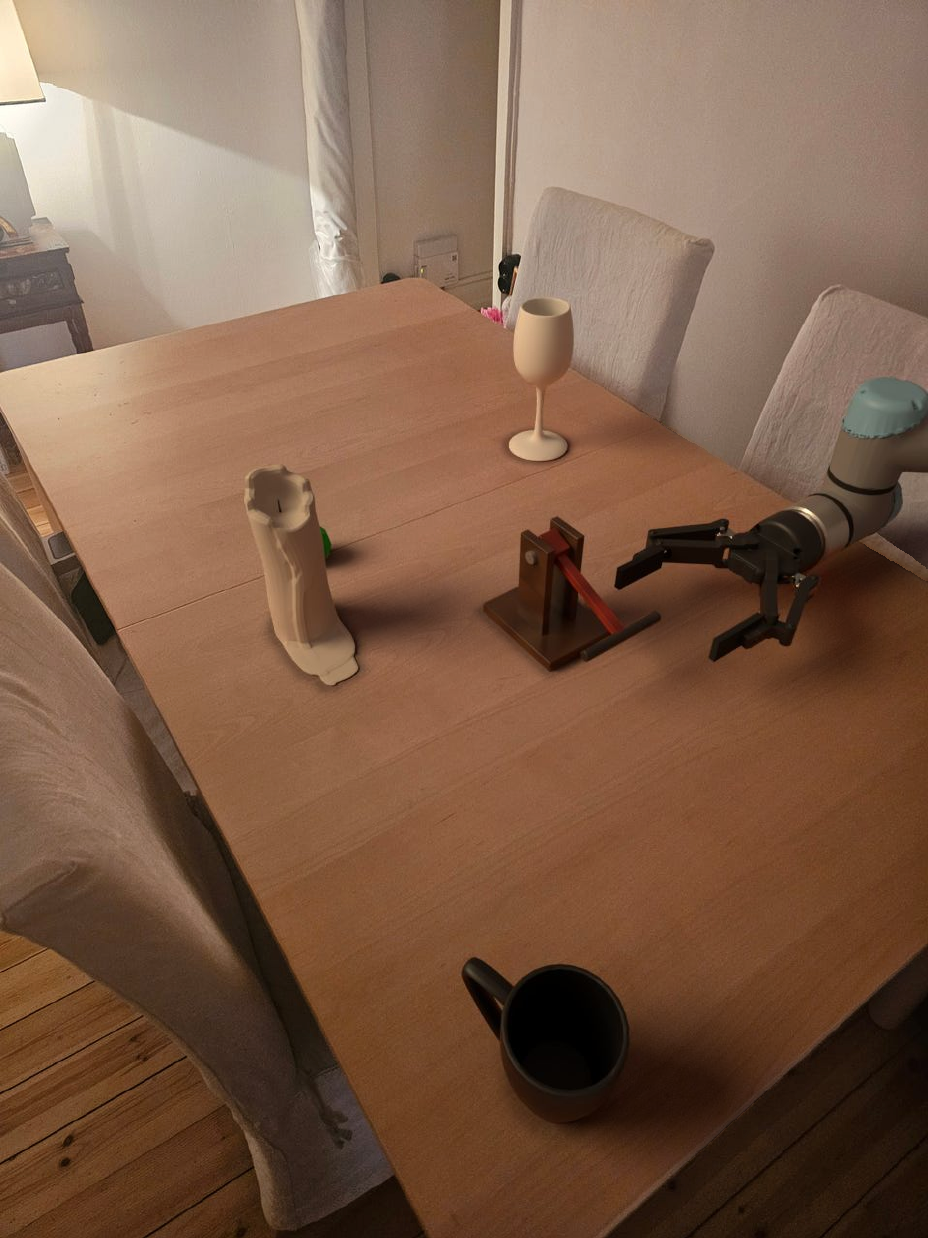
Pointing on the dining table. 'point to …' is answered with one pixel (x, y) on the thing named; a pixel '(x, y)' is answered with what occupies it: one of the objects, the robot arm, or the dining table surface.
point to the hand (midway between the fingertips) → (663, 613)
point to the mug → (554, 1035)
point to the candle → (297, 573)
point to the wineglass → (542, 367)
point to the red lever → (595, 601)
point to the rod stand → (547, 602)
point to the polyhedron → (325, 542)
